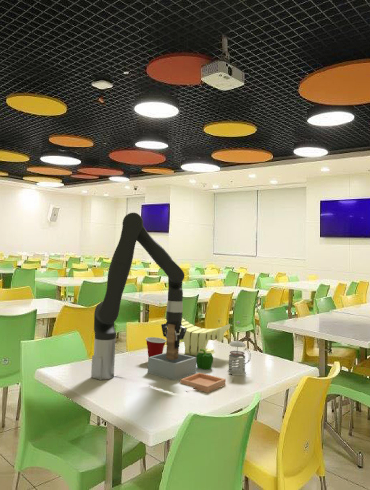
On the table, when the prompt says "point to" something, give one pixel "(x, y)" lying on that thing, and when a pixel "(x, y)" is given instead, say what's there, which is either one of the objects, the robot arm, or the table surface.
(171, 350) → the walnut stick
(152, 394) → the table surface
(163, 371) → the grey tub
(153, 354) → the plastic cup
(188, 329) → the slatted curved stool
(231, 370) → the french press
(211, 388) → the terracotta tray
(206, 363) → the bell pepper
